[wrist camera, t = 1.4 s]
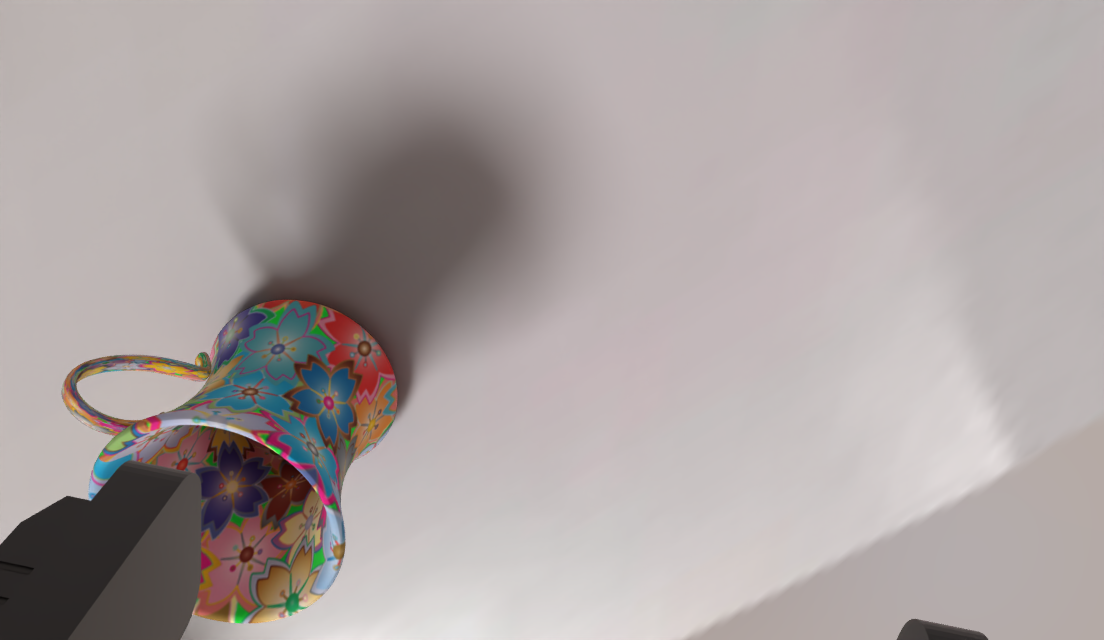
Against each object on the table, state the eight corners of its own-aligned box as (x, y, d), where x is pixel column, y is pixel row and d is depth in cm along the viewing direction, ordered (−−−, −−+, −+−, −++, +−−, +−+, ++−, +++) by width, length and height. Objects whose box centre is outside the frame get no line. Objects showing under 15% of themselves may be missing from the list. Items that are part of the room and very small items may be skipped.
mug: (451, 362, 43) (391, 515, 33) (346, 492, 47) (267, 662, 37) (212, 203, 40) (76, 320, 31) (123, 355, 44) (-21, 499, 35)
